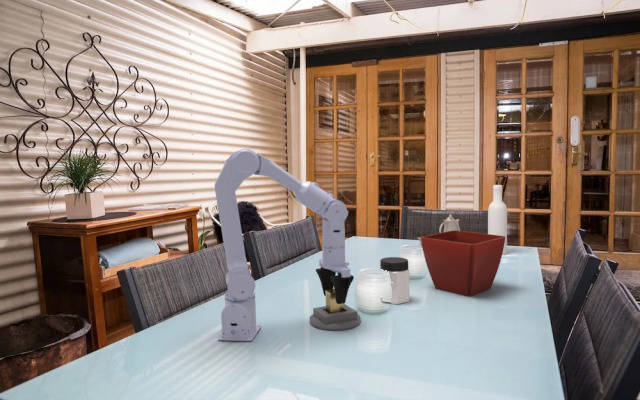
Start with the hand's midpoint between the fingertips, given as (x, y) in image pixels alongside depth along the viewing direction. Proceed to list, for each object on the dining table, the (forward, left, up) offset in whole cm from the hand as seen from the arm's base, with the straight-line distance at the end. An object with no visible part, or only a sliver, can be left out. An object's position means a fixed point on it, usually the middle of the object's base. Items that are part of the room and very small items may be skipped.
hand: (334, 299), depth 113 cm
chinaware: (+104, -44, -6) cm, 113 cm away
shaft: (0, 0, -5) cm, 5 cm away
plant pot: (+32, -38, -6) cm, 50 cm away
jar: (+19, -16, -6) cm, 26 cm away
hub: (0, 0, -6) cm, 6 cm away
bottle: (+89, -64, -6) cm, 110 cm away
